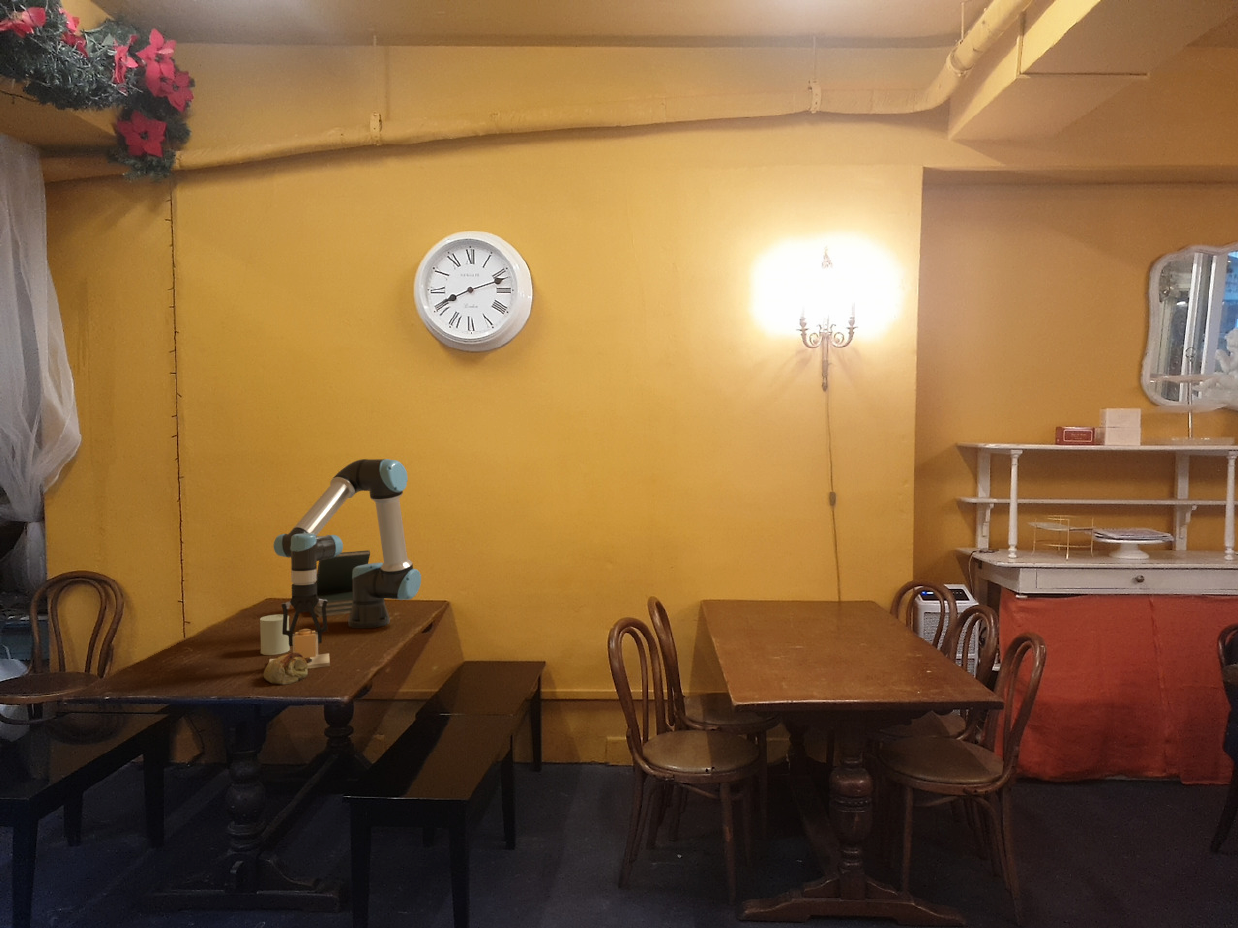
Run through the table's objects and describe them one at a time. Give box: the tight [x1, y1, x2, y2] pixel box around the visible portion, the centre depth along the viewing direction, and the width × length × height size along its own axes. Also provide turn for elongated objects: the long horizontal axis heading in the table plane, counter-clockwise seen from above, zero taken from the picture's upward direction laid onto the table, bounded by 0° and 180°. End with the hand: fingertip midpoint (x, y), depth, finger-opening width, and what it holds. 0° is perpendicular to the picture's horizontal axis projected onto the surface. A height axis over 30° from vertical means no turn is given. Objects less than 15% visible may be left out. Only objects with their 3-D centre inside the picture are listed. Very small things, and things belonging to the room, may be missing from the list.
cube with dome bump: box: [294, 628, 316, 658], centre depth 254 cm, size 6×6×8 cm
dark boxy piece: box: [314, 549, 371, 618], centre depth 332 cm, size 23×20×25 cm
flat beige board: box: [268, 652, 331, 670], centre depth 255 cm, size 18×11×6 cm, turn 111°
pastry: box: [263, 652, 309, 686], centre depth 242 cm, size 14×12×8 cm
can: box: [259, 614, 291, 656], centre depth 270 cm, size 9×9×12 cm
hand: (305, 654), depth 254 cm, fingers closed on cube with dome bump, 6 cm apart
